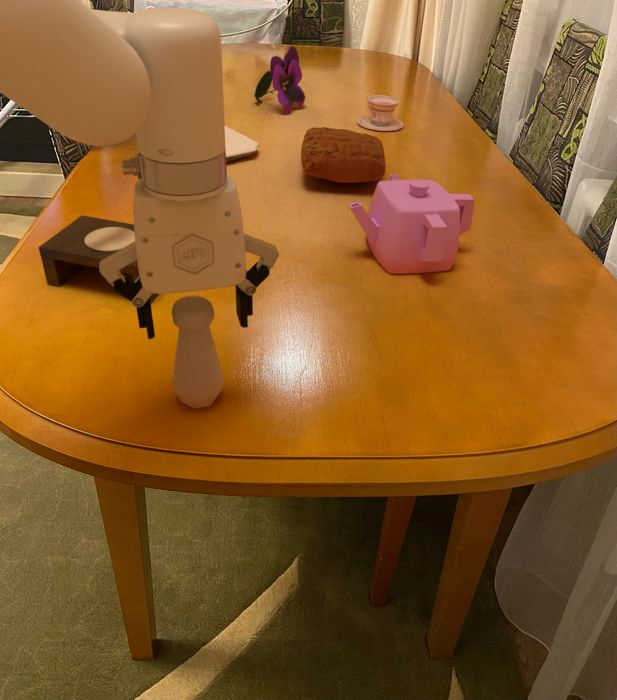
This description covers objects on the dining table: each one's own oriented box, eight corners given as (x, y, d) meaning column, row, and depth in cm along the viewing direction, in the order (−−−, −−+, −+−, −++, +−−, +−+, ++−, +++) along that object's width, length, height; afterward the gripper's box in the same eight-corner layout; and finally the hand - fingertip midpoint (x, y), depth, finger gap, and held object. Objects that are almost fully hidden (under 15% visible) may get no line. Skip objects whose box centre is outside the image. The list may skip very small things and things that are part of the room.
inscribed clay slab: (382, 200, 118) (388, 160, 113) (295, 193, 118) (297, 152, 113) (381, 160, 135) (386, 123, 130) (305, 153, 136) (307, 117, 131)
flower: (250, 129, 162) (288, 114, 154) (227, 72, 157) (266, 53, 148) (279, 117, 172) (317, 102, 164) (259, 62, 167) (297, 44, 159)
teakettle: (434, 290, 92) (451, 215, 84) (337, 257, 98) (345, 184, 91) (472, 248, 104) (490, 179, 96) (384, 221, 110) (393, 154, 103)
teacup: (412, 125, 156) (416, 100, 153) (385, 135, 149) (388, 109, 145) (375, 114, 162) (378, 90, 159) (347, 123, 155) (349, 98, 151)
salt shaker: (232, 388, 72) (230, 295, 64) (211, 419, 67) (205, 324, 59) (188, 375, 73) (180, 283, 65) (164, 405, 69) (152, 310, 61)
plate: (184, 175, 122) (183, 164, 121) (137, 144, 134) (136, 134, 133) (267, 156, 133) (267, 146, 131) (217, 130, 145) (216, 120, 144)
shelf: (47, 284, 87) (37, 245, 83) (88, 250, 96) (81, 213, 92) (149, 305, 84) (144, 266, 81) (182, 267, 93) (179, 231, 89)
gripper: (80, 192, 49) (113, 358, 59) (288, 179, 53) (284, 336, 63) (82, 158, 54) (111, 315, 65) (270, 149, 58) (269, 298, 69)
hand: (197, 325), depth 64 cm, fingers open, 9 cm apart
